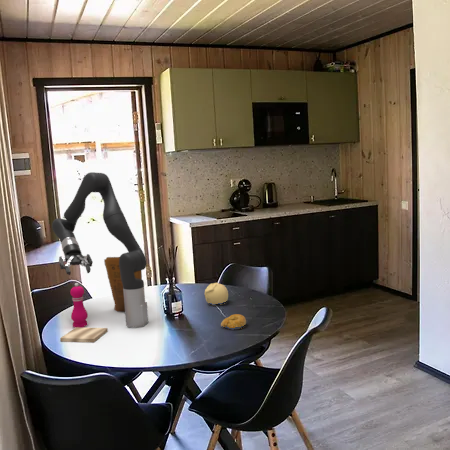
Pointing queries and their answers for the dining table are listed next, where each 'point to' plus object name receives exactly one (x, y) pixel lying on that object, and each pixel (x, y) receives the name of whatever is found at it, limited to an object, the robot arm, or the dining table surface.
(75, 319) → the pepper mill
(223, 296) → the tan round lump
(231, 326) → the bagel
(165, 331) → the dining table surface
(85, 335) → the birch board
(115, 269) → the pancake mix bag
